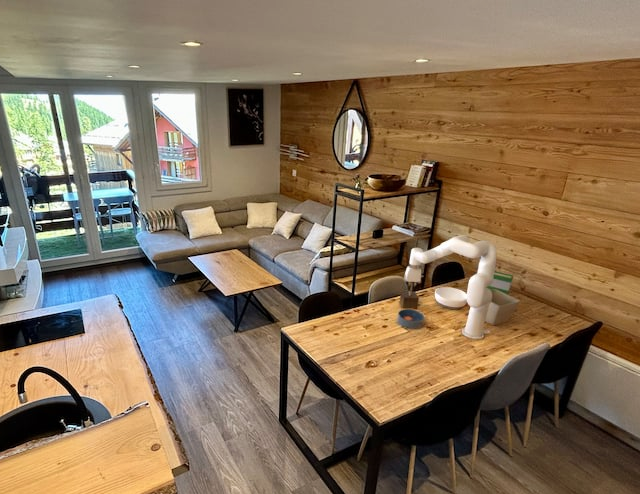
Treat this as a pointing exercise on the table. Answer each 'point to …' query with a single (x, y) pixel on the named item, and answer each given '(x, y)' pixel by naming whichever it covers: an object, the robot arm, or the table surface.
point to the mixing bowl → (415, 315)
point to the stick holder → (409, 300)
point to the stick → (410, 289)
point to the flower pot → (500, 307)
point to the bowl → (450, 298)
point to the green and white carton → (501, 282)
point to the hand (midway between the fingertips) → (410, 290)
